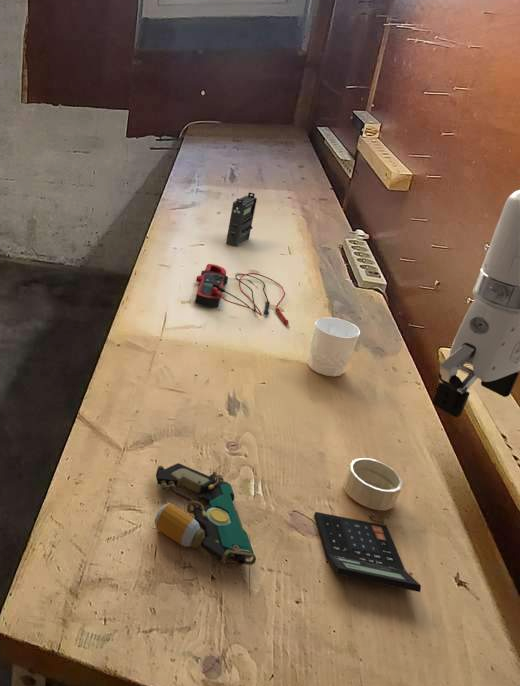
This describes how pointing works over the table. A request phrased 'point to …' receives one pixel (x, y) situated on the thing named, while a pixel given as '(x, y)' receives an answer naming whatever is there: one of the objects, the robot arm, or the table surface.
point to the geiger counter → (241, 219)
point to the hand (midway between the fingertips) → (470, 400)
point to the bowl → (373, 484)
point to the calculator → (363, 551)
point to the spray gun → (204, 515)
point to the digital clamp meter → (213, 288)
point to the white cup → (332, 345)
